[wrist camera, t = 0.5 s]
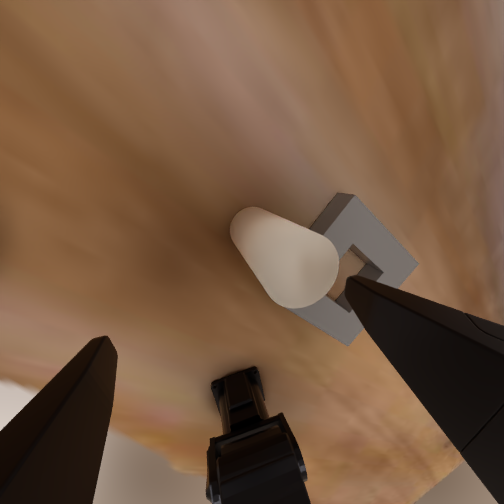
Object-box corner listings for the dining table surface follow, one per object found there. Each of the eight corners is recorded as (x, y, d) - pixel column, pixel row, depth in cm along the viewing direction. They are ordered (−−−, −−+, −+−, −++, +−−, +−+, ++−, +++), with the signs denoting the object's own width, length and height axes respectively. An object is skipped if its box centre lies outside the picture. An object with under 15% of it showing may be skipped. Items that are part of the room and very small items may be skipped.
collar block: (334, 332, 33) (348, 346, 30) (263, 287, 27) (272, 299, 25) (398, 256, 31) (419, 263, 29) (337, 192, 26) (355, 194, 23)
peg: (276, 245, 26) (340, 295, 15) (234, 256, 25) (270, 318, 14) (270, 202, 24) (337, 223, 13) (225, 212, 23) (257, 244, 12)
